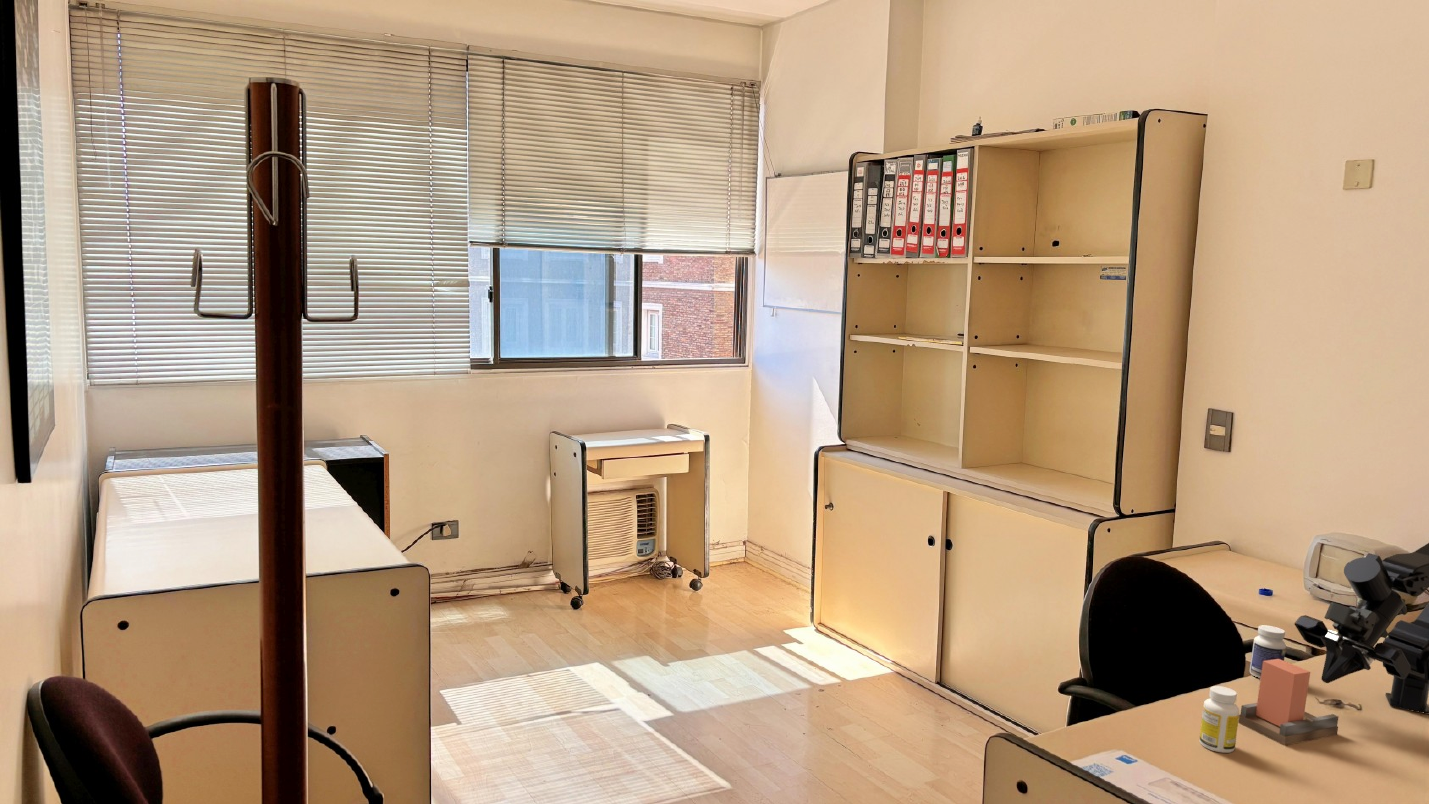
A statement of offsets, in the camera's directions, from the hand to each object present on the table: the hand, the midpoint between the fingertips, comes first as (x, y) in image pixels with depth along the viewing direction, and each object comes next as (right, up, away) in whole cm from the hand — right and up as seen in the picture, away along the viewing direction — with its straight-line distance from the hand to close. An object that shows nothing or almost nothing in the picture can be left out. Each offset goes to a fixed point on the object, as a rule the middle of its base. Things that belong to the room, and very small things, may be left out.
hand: (1324, 681), depth 181 cm
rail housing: (-8, -8, -2) cm, 11 cm away
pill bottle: (+1, -5, +22) cm, 23 cm away
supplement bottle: (-25, -8, -11) cm, 28 cm away
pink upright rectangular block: (-10, -6, -4) cm, 12 cm away
